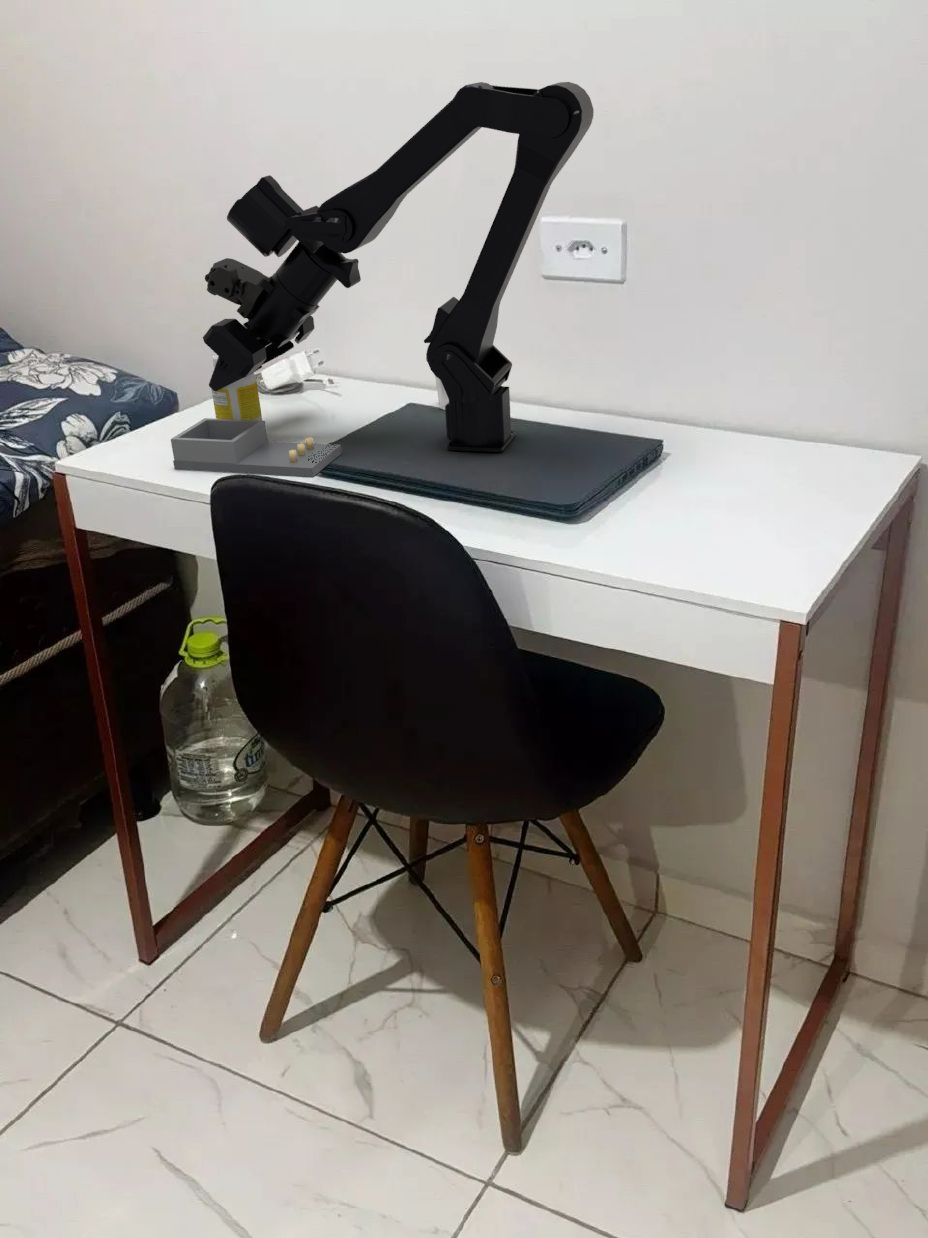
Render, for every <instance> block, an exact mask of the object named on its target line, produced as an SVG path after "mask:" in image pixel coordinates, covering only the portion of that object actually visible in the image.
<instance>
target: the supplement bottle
mask: <svg viewBox="0 0 928 1238" xmlns="http://www.w3.org/2000/svg"><path fill="white" fill-rule="evenodd" d="M217 360H218V355H217V354H216V353H215V355H213V356H212V363H213V367H214V368H215V366H216V363H217ZM210 389H211V388H210ZM211 394H212V395H211V396H212V400H213V406H214V415H215V419H236V420H260V421H263V417H262V416H263V415H262V407H261V403H260V401H261V400H260V397H259V396H260V395H259V389H258V382H257V377H256V374H255V372H254V373H253V374H250V375H248V376H247V377H244V378H242V379H240V380H238V381H236V382H234V383H232V384H230V385H228V386H226V387H224V388H222V389H220V390H218V391H214V390H212V389H211Z"/></svg>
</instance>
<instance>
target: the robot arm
mask: <svg viewBox="0 0 928 1238" xmlns="http://www.w3.org/2000/svg"><path fill="white" fill-rule="evenodd" d="M593 119H594V106H593V103H592V100H591V97H590V95H589V94H588V93H587V91H586V90H585V88H583V87H582V86H580V85H579V84H577V83H573V82H570V81H560V82H556V83H553V84H549V85H546V86H543V87H541V88H540V89H537V88H529V87H528V88H527V87H513V86H511V87H510V86H502V85H499V86H498V85H492V84H490V83H487V82H483V81H480V82H475V83H474V82H473V83H469V84H466V85H464V86H462V87H461V88H459V89H458V91H456V94H455V95H454V96H453V98H452V99H451V100H450V101H449V102H447V104H446V105H445V106H444V107H443V108H441V110H439V111H438V112H437V113H436V114H435V115H434V116H433V117H432V118H431V119H430V120H429V121H427V122H426V123H425V125H424V126H422V127H421V128H420V129H419V130H418V131H417V132H416V133H414V134H413V135H412V136H411V137H410V138H409V139H408V140H407V141H406V142H405V143H404V144H403V145H402V146H401V147H400V148H398V149H397V150H396V152H394V153H393V154H392V155H391V156H390V157H389V158H388V159H387V160H386V161H385V162H383V163H382V164H381V165H380V166H379V167H378V168H377V169H376V170H375V171H373V172H372V173H370V174H368V175H367V176H364V177H363V178H362V179H360V180H358V181H356V182H354V183H353V184H351V185H349V186H348V187H345V188H344V189H343V190H341V191H340V192H339V191H338V193H336V194H335V195H333V196H331V197H330V198H329V199H326V200H325V201H324V202H323V203H321V204H320V205H319V206H318V205H315V206H312V207H308V208H307V209H303V208H302V207H301V206H300V205H299V204H298V203H297V202H296V201H295V200H294V199H293V198H292V197H291V196H290V195H289V194H288V193H287V192H286V191H285V190H284V188H282V186H281V185H280V183H279V182H278V181H277V180H276V179H275V178H274V177H273V176H272V175H265V176H263V177H260V179H259V180H258V181H257V183H256V184H255V185H254V186H252V187H251V188H250V189H249V190H248V191H247V192H246V193H244V194H243V195H242V197H241V198H238V199H237V200H235V202H234V203H233V205H232V206H231V208H230V209H229V211H228V213H227V216H226V220H227V222H229V224H230V225H231V226H232V227H233V228H235V230H237V232H239V233H240V235H242V236H243V238H245V239H246V240H247V241H248V242H249V243H250V244H251V246H253V247H254V248H255V249H256V250H257V251H258V252H259V253H260V254H261V255H262V256H263V257H264V258H266V257H270V256H271V255H272V254H273V253H274V254H275V256H276V257H277V258H280V257H282V256H283V255H284V254H286V253H287V252H288V251H290V249H291V248H292V250H291V252H290V253H289V254H288V255H287V257H286V258H284V259H285V260H283V261H282V263H281V264H280V265H279V266H278V268H277V269H276V271H275V272H274V273H273V274H272V275H271V276H267V275H265V274H263V273H262V272H261V271H259V270H257V269H256V268H253V267H251V266H249V265H246V264H245V263H243V262H241V261H238V260H236V259H233V258H228V257H227V258H224V259H221V260H219V261H218V260H217V262H214V263H213V265H212V266H211V267H210V269H209V272H208V273H207V274H205V275H204V281H205V282H206V283H207V285H206V286H207V287H206V291H207V292H208V293H209V294H211V295H212V296H218V297H221V298H222V299H225V300H227V301H229V302H231V303H233V304H235V305H238V306H239V307H238V308H237V309H236V312H237V313H238V314H239V315H240V316H241V317H242V318H243V319H247V321H245V322H244V323H241V322H240V321H239V320H238V319H237V318H223V319H222V320H220V321H218V322H216V323H214V324H212V325H211V326H210V327H209V328H208V330H207V331H206V332H205V333H204V335H203V336H202V339H203V342H204V344H205V345H206V346H207V347H208V348H209V349H210V350H212V352H213V353H215V355H216V354H217V355H218V360H217V363H216V366H215V368H214V369H213V371H212V374H211V377H210V379H209V383H208V387H209V388H210V389H212V390H214V391H218V390H220V389H222V388H224V387H226V386H228V385H230V384H232V383H234V382H236V381H238V380H240V379H242V378H244V377H247V376H248V375H250V374H253V373H254V374H255V373H256V372H257V371H259V370H260V369H262V368H263V365H265V364H267V363H269V362H271V361H273V360H274V359H276V358H278V357H280V356H282V355H284V354H285V353H287V352H289V351H290V350H292V349H294V347H295V345H294V343H293V342H292V340H293V339H294V340H293V341H294V342H295V343H296V344H297V345H298V344H300V343H302V342H303V341H305V340H306V339H308V337H309V336H310V335H311V334H312V332H313V331H314V330H315V328H316V327H315V321H314V317H313V316H312V315H313V314H315V313H316V312H317V310H318V309H319V308H320V305H319V303H320V302H321V301H322V300H323V298H324V297H325V296H326V294H328V292H329V291H330V290H331V288H332V287H333V286H334V285H335V283H336V282H337V281H338V282H339V283H340V284H341V285H342V286H344V288H346V289H350V288H352V287H353V286H355V285H356V284H358V283H360V282H361V280H362V279H361V278H362V277H361V274H360V269H359V259H358V258H352V259H351V258H347V257H345V255H346V254H349V253H350V254H351V252H353V251H356V250H357V249H359V248H362V247H363V246H366V245H368V244H369V243H371V242H373V241H375V239H376V238H377V237H378V236H379V235H380V233H382V231H383V229H385V227H386V226H387V224H388V223H389V222H390V221H391V219H392V218H393V217H394V215H395V213H396V211H397V210H398V208H399V207H400V205H401V204H402V203H403V201H404V200H405V198H406V197H407V196H408V194H409V193H410V192H412V191H413V190H414V189H415V188H417V186H418V185H420V184H421V183H422V182H423V181H424V180H425V179H426V178H427V177H428V176H430V174H432V173H433V172H434V171H435V170H436V169H437V168H438V167H440V166H441V165H443V163H444V162H445V161H446V160H447V159H448V158H449V157H451V156H452V155H453V154H454V153H456V151H457V150H458V149H460V148H461V146H463V145H464V144H465V143H466V142H467V141H468V140H469V139H470V138H472V137H473V136H474V135H475V134H476V133H477V132H478V131H479V130H481V129H482V128H483V129H484V128H485V129H490V130H495V131H500V132H505V133H509V134H517V135H518V137H517V144H516V154H515V163H514V168H513V173H512V176H511V178H510V180H509V181H508V185H507V187H506V190H505V192H504V194H503V197H502V199H501V201H500V205H499V206H498V209H497V212H496V214H495V216H494V219H493V222H492V223H491V226H490V228H489V230H488V233H487V236H486V238H485V241H484V243H483V246H482V248H481V250H480V253H479V255H478V257H477V260H476V262H475V265H474V267H473V269H472V272H471V275H470V277H469V279H468V282H467V284H466V286H465V289H464V291H463V294H462V295H461V297H460V298H459V299H458V298H456V297H455V296H452V297H451V298H450V299H448V300H447V301H446V302H445V303H442V305H440V307H438V308H437V311H436V313H435V316H434V317H435V318H434V320H433V326H432V330H431V331H430V333H429V335H428V336H427V337H426V338H424V339H423V342H424V344H428V346H427V350H426V356H425V357H426V358H425V359H426V362H427V364H428V365H429V369H430V371H431V372H432V373H433V375H434V377H435V376H436V377H438V378H439V379H440V380H441V382H442V384H443V387H444V389H445V391H446V394H447V396H448V399H449V403H448V404H446V406H445V410H444V412H445V413H444V415H445V428H446V429H445V430H446V439H447V441H449V442H448V443H447V444H446V450H449V451H464V452H466V451H467V452H486V453H487V452H489V453H492V452H493V453H500V452H501V453H502V452H503V451H504V450H505V449H506V447H507V446H508V445H509V444H510V443H511V442H512V440H513V439H514V438H515V437H516V431H515V430H512V427H511V426H512V423H511V420H512V419H511V402H510V401H511V398H510V397H511V395H510V386H503V384H504V383H505V382H507V381H508V380H509V377H510V373H511V370H512V367H513V363H512V361H510V360H509V358H507V357H506V356H505V354H503V353H502V352H501V351H500V350H499V349H498V348H497V347H496V345H494V341H495V338H496V337H495V336H496V332H497V327H498V321H499V313H500V312H499V311H500V304H501V301H502V300H503V297H504V294H505V292H506V290H507V287H508V286H509V283H510V281H511V279H512V276H513V273H514V272H515V269H516V266H517V264H518V262H519V260H520V257H521V255H522V253H523V251H524V248H525V245H526V244H527V241H528V239H529V237H530V234H531V233H532V230H533V227H534V226H535V223H536V220H537V218H538V216H539V213H540V210H541V208H542V207H543V205H544V201H545V200H546V197H547V195H548V193H549V190H550V188H551V185H552V184H553V182H554V181H555V179H556V178H557V176H558V175H559V173H560V172H561V171H562V169H563V168H564V167H565V165H566V163H567V162H568V161H569V159H570V158H571V157H572V155H573V154H574V152H575V151H576V149H577V148H578V147H579V145H580V143H581V141H582V140H583V138H584V136H586V134H587V132H588V131H589V130H590V127H591V125H592V124H593ZM297 241H298V242H297ZM296 242H297V244H296V245H295V243H296ZM294 245H295V246H294ZM293 246H294V247H293ZM344 254H345V255H344ZM212 390H211V391H212Z"/></svg>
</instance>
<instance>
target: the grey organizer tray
mask: <svg viewBox="0 0 928 1238" xmlns="http://www.w3.org/2000/svg"><path fill="white" fill-rule="evenodd" d="M267 432H268V431H267V424H266V420H262V421H260V420H236V419H216V418H203V419H201V420H199V421H198V422H196V423H195V424H193V425H192V426H189V427H188V428H186V429H185V430H183V431H182V432H180V433H178V434H177V435H174V437H172V438H170V443H171V444H170V445H171V449H172V455H173V460H172V462H173V467H174V469H173V470H183V471H195V472H196V471H198V472H199V471H200V472H217V473H233V474H235V473H236V474H253V475H254V474H255V475H256V474H257V475H272V476H286V477H287V476H290V477H303V478H304V477H306V478H307V477H308V478H313V477H315V476H316V475H317V474H319V473H320V472H321V471H323V469H324V468H326V467H327V466H328V465H330V463H332V462H333V461H334V460H335V459H336V458H338V457H339V456H340V455H341V454H342V453H343V452H342V444H336V443H335V444H334V445H337V446H335V447H336V448H332V447H334V446H333V445H332V446H330V445H331V443H314V440H313V437H312V436H311V437H310V436H308V437H305V438H304V439H305V442H293V441H292V442H289V441H288V442H286V441H269V440H268V439H269V438H268V433H267ZM327 445H329V446H330V448H329V447H328V446H327ZM326 446H327V448H326ZM323 448H324V449H323ZM325 448H326V449H325ZM322 449H323V450H324V451H323V450H322ZM329 449H333V450H334V451H333V450H329ZM325 450H326V451H325ZM327 450H328V451H330V452H331V453H330V452H328V451H327ZM318 451H320V452H318ZM321 451H322V454H321ZM332 451H333V452H332ZM317 452H318V453H320V454H318V453H317ZM327 452H328V453H327ZM312 453H313V454H312ZM323 453H324V455H325V453H327V456H326V455H325V456H326V457H325V456H321V455H323ZM314 454H316V455H315V459H317V460H315V459H314V456H313V455H314ZM311 455H312V456H311ZM318 455H320V456H319V457H318ZM308 456H310V457H308ZM316 456H317V458H316ZM311 457H312V458H313V459H312V460H311V459H310V458H311ZM321 457H322V459H323V457H324V459H323V460H322V459H321ZM308 458H309V459H310V460H309V461H308ZM319 458H320V460H319ZM313 460H314V462H313V463H312V461H313ZM319 461H320V462H319ZM315 462H317V463H315Z"/></svg>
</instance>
